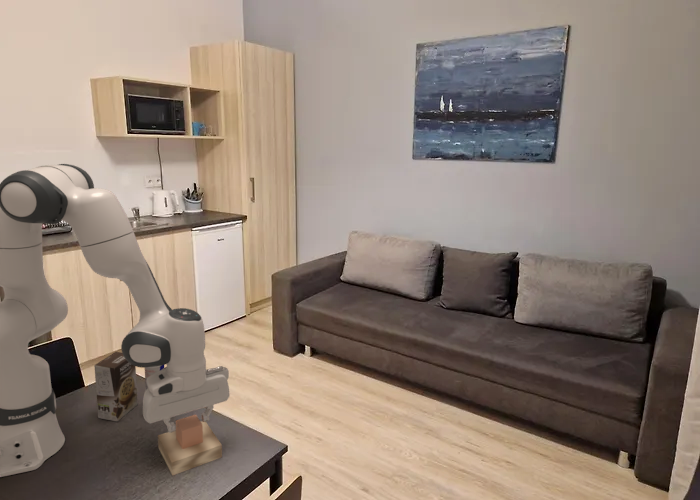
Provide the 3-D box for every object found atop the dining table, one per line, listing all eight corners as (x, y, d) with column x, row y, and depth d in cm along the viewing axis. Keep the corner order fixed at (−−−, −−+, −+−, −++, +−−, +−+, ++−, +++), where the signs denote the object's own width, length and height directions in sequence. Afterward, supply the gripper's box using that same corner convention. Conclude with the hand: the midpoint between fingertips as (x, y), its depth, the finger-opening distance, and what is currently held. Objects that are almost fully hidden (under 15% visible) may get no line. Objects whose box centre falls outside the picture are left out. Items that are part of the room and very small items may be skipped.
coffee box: (118, 422, 129) (114, 368, 125) (97, 418, 130) (92, 365, 127) (139, 404, 138) (135, 353, 134) (119, 400, 139) (115, 350, 135)
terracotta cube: (182, 449, 114) (181, 431, 113) (176, 438, 118) (175, 420, 117) (202, 442, 117) (202, 424, 116) (196, 431, 121) (195, 414, 120)
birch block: (172, 477, 111) (171, 462, 110) (158, 449, 120) (157, 435, 119) (222, 458, 118) (221, 444, 117) (205, 433, 127) (204, 420, 126)
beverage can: (170, 409, 136) (167, 361, 133) (154, 417, 132) (151, 368, 128) (158, 403, 139) (156, 356, 135) (143, 411, 135) (140, 363, 131)
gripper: (223, 359, 122) (224, 407, 125) (139, 380, 110) (142, 432, 114) (233, 369, 117) (233, 418, 121) (145, 392, 105) (149, 446, 109)
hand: (188, 425), depth 117 cm, fingers open, 7 cm apart
